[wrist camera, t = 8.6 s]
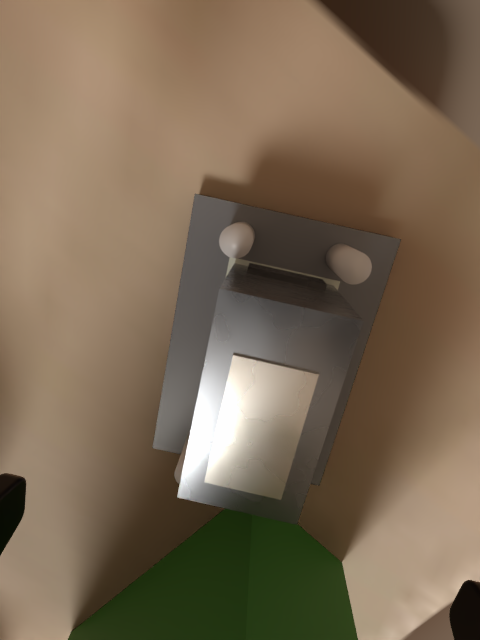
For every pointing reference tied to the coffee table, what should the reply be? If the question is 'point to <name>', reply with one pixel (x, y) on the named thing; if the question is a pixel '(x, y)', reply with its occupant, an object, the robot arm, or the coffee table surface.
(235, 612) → the hardback book
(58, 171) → the coffee table surface
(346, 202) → the coffee table surface
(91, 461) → the coffee table surface
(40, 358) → the coffee table surface
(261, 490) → the drive
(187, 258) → the panel with knobs
